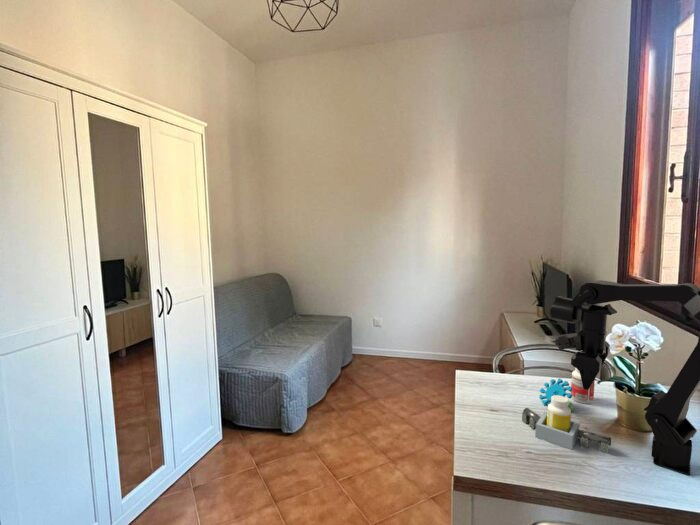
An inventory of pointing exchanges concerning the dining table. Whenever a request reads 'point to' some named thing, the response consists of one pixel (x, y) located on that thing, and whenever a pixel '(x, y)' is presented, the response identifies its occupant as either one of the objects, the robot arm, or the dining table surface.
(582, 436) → the shaft
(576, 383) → the pill bottle
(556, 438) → the housing
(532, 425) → the shaft
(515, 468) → the dining table surface
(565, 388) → the gear
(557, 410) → the supplement bottle
